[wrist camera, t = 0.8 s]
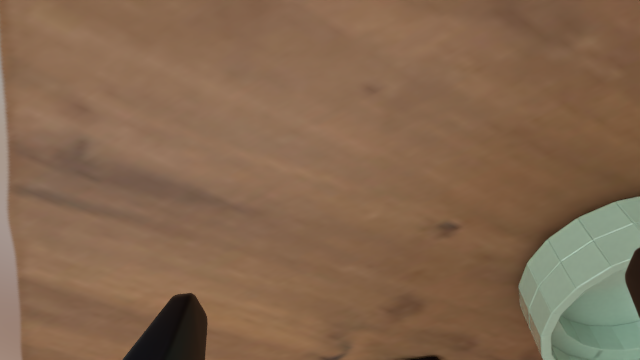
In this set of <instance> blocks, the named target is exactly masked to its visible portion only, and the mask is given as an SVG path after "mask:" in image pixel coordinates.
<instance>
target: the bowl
mask: <svg viewBox="0 0 640 360" xmlns="http://www.w3.org/2000/svg"><path fill="white" fill-rule="evenodd" d="M639 247H640V196H638V197H634V198H629V199H624V200H619V201H616V202H613V203H610V204H608V205H606V206H603V207H601V208H599V209H596V210H594V211H592V212H589V213H587V214H585V215H582V216H580V217H579V218H576V219H575V220H573V221H572V222H571V223H569V224H568V225H566V226H565V227H564V228H562V229H561V230H559V231H558V232H556V233H555V234H554V235H552V236H551V237H549V238H548V239H547V240H546V241H545V242H544V243H543V244H542V246H541V247H540V248H539V249H538V250H537V251H536V253H535V254H534V255H533V256H532V257H531V259H530V260H529V261H528V263H527V264H526V267H525V270H524V272H523V275H522V277H521V280H520V283H519V287H518V288H519V299H520V307H521V310H522V312H523V314H524V317H525V319H526V321H527V324H528V326H529V328H530V331H531V333H532V335H533V338H534V340H535V343H536V345H537V347H538V350H539V352H540V354H541V357H542V358H543V360H640V318H639V316H638V313H637V311H636V308H635V305H634V303H633V300H632V298H631V295H630V293H629V290H628V288H627V285H626V282H625V273H626V270H627V267H628V265H629V263H630V260H631V258H632V256H633V253H634V251H635V250H636V249H637V248H639Z"/></svg>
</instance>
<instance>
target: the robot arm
mask: <svg viewBox="0 0 640 360" xmlns="http://www.w3.org/2000/svg"><path fill="white" fill-rule="evenodd" d="M625 282H626V285H627V288H628V290H629V293H630V295H631V298H632V300H633V303H634V305H635V308H636V311H637V313H638V316H639V318H640V247H639V248H637V249H636V250H635V251H634V253H633V256H632V258H631V260H630V263H629V265H628V267H627V270H626V273H625ZM206 336H207V316H206V313H205V311H204V310H203V308H202V306H201V305H200V303H199V301H198V300H197V298H196V296H195V295H194V294H192V293H187V294H178V295H175V296H173V297H172V298H171V299H170V301H169V302H168V303H167V304H166V306H165V307H164V308H163V309H162V311H161V312H160V313H159V314H158V316H157V317H156V318H155V319H154V321H153V322H152V323H151V324H150V326H149V327H148V328H147V329H146V331H145V332H144V333H143V335H142V336H141V337H140V338H139V340H138V341H137V342H136V343H135V345H134V346H133V347H132V348H131V350H130V351H129V352H128V353H127V355H126V356H125V357H124V358H123V360H205V350H206ZM413 360H439V359H438V358H437V357H426V358H419V359H413Z"/></svg>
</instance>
